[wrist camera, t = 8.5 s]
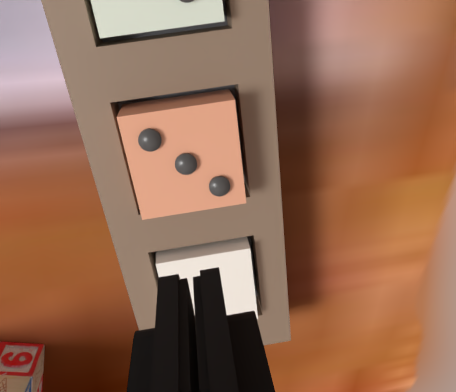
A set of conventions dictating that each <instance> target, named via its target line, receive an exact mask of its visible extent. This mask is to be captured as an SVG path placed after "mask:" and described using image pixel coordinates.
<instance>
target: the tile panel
mask: <svg viewBox="0 0 456 392" xmlns="http://www.w3.org/2000/svg"><path fill="white" fill-rule="evenodd" d="M41 1H42V4H43V8H44V11H45V15H46V18H47V21H48V25H49V28H50V31H51V35H52V38H53V42H54V45H55V48H56V52H57V55H58V58H59V62H60V65H61V69H62V72H63V75H64V79H65V82H66V85H67V89H68V92H69V96H70V99H71V102H72V106H73V109H74V112H75V116H76V119H77V123H78V126H79V129H80V133H81V136H82V139H83V143H84V146H85V150H86V153H87V156H88V160H89V163H90V166H91V170H92V173H93V177H94V180H95V183H96V187H97V190H98V193H99V197H100V200H101V203H102V207H103V210H104V214H105V217H106V220H107V224H108V227H109V230H110V234H111V237H112V241H113V244H114V247H115V251H116V254H117V257H118V261H119V264H120V268H121V271H122V274H123V278H124V281H125V284H126V288H127V291H128V295H129V298H130V301H131V305H132V308H133V311H134V315H135V318H136V322H137V325H138V328H139V330H145V329H151V328H155V319H156V304H157V289H158V278H159V276H158V272H157V268H156V251H161V250H167V249H173V248H179V247H185V246H191V245H198V244H204V243H210V242H216V241H222V240H228V239H234V238H240V237H246V236H247V239H248V242H249V246H250V251H251V260H252V269H253V277H254V286H255V295H256V304H257V313H258V319H257V322H258V326H259V330H260V334H261V338H262V342H263V345H268V344H274V343H279V342H285V341H291V335H290V320H289V304H288V289H287V274H286V258H285V243H284V228H283V213H282V197H281V182H280V167H279V152H278V136H277V121H276V106H275V91H274V75H273V60H272V45H271V30H270V14H269V0H222V2H223V11H224V20H225V21H223V22H216V23H209V24H201V25H194V26H187V27H179V28H172V29H165V30H158V31H150V32H143V33H136V34H129V35H121V36H114V37H107V38H100V37H99V32H98V28H97V24H96V20H95V16H94V12H93V8H92V4H91V0H41ZM225 89H229V90H230V92H231V93H232V95H233V97H234V99H235V104H236V113H237V122H238V131H239V140H240V149H241V158H242V167H243V176H244V186H245V195H246V203H245V204H239V205H233V206H226V207H220V208H214V209H208V210H201V211H195V212H189V213H183V214H176V215H170V216H164V217H158V218H151V219H145V220H142V217H141V213H140V209H139V205H138V201H137V197H136V193H135V189H134V185H133V181H132V177H131V173H130V169H129V165H128V161H127V157H126V153H125V149H124V145H123V141H122V137H121V133H120V129H119V125H118V121H117V115H118V113H119V111H120V109H121V107H122V105H123V104H130V103H136V102H143V101H150V100H157V99H164V98H171V97H178V96H184V95H191V94H198V93H205V92H212V91H219V90H225Z"/></svg>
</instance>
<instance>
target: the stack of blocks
mask: <svg viewBox="0 0 456 392" xmlns="http://www.w3.org/2000/svg"><path fill="white" fill-rule="evenodd" d="M44 349H45V346H44V344H32V343H17V342H0V392H42V385H43V370H44Z"/></svg>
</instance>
